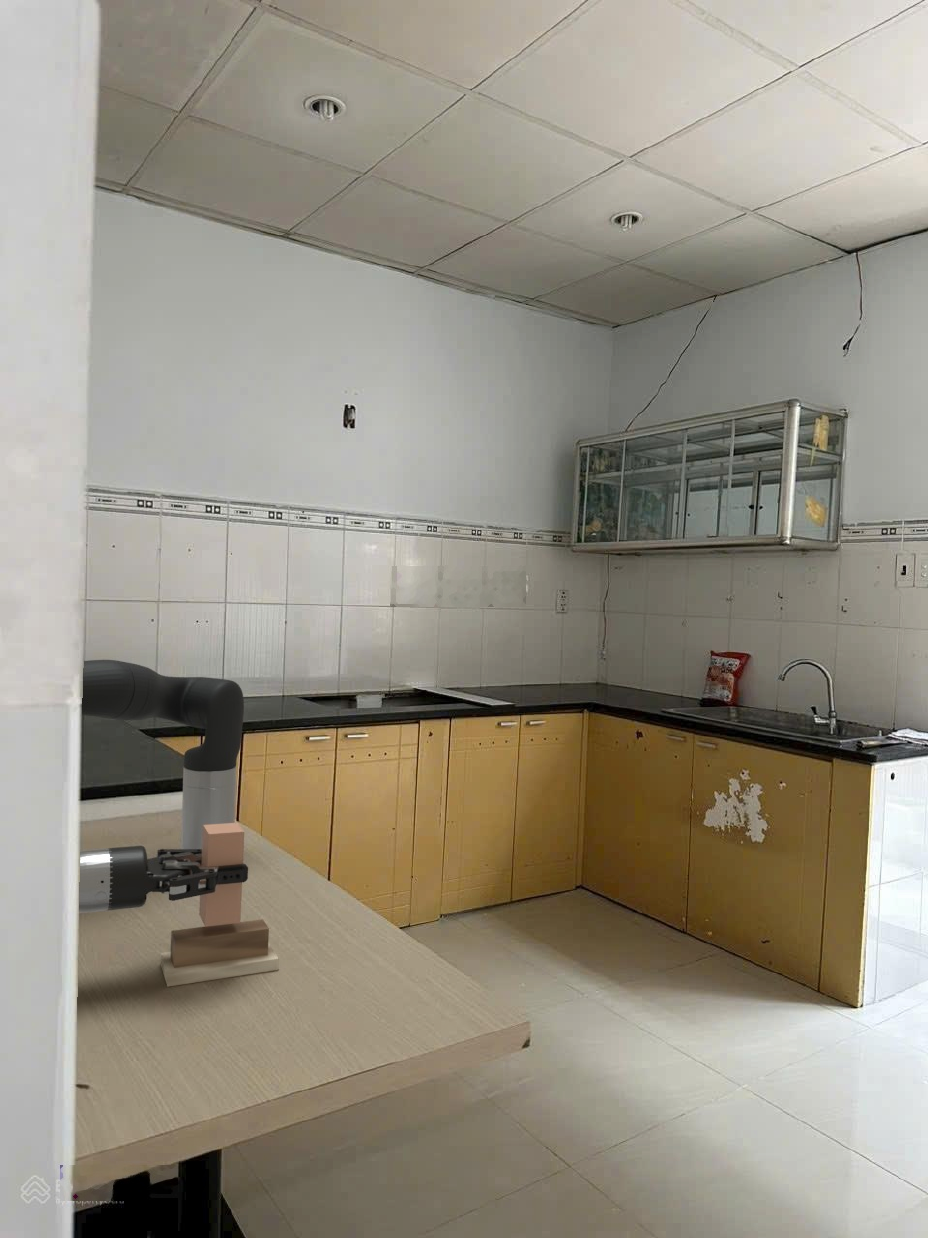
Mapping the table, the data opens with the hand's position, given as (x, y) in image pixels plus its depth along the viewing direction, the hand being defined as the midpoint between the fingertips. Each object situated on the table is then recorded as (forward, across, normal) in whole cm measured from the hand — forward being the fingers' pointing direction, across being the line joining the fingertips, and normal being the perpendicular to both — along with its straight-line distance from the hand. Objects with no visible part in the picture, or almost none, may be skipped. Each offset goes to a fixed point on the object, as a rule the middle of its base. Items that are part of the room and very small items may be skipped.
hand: (242, 866), depth 117 cm
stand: (-2, 0, +13) cm, 13 cm away
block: (-3, 0, +7) cm, 7 cm away
